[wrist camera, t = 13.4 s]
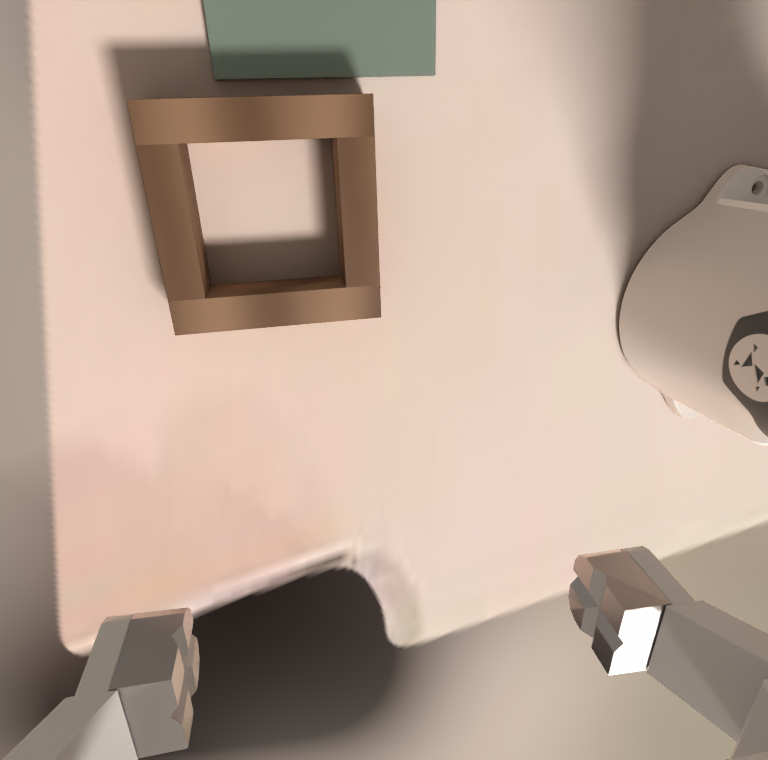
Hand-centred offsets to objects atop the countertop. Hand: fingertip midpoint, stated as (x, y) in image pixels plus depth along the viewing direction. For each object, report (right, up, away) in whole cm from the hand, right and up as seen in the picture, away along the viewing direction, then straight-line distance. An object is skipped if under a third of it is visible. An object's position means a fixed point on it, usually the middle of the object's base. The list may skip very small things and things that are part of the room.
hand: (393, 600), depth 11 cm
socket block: (-7, +14, +21) cm, 26 cm away
